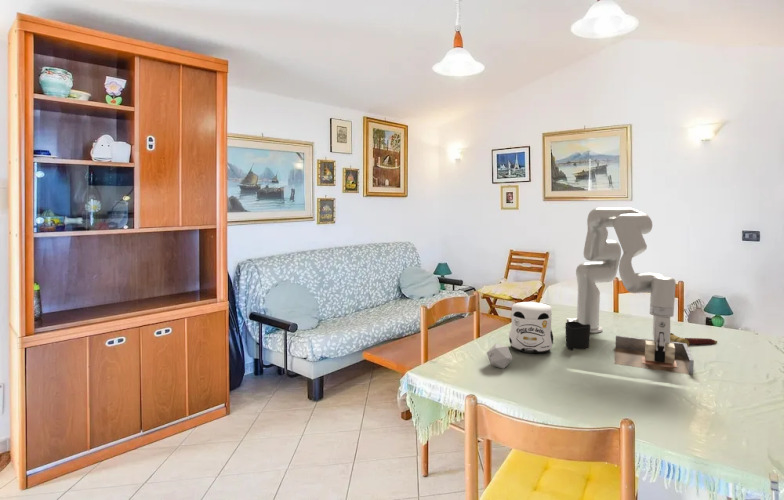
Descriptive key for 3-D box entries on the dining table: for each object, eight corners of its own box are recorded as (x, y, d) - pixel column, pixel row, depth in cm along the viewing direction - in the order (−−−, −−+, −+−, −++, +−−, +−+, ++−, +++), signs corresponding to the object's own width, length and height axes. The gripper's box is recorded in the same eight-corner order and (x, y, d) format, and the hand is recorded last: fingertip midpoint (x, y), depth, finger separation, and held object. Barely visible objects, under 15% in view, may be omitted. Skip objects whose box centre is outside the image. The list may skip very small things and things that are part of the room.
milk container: (524, 358, 173) (525, 313, 171) (501, 344, 190) (501, 303, 188) (562, 353, 178) (563, 309, 176) (536, 340, 195) (537, 300, 193)
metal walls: (614, 363, 164) (615, 350, 163) (615, 347, 181) (615, 335, 181) (692, 374, 153) (693, 360, 152) (685, 356, 170) (686, 343, 170)
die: (488, 362, 171) (480, 346, 166) (507, 350, 172) (500, 335, 166) (498, 377, 165) (490, 361, 159) (518, 365, 165) (511, 349, 160)
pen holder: (584, 344, 189) (585, 321, 188) (593, 351, 179) (594, 327, 178) (561, 344, 189) (562, 321, 188) (569, 352, 180) (570, 327, 179)
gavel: (708, 333, 192) (727, 340, 182) (707, 343, 193) (726, 351, 183) (662, 331, 190) (679, 338, 180) (661, 342, 191) (678, 349, 181)
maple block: (672, 359, 164) (673, 343, 163) (674, 363, 160) (675, 347, 159) (644, 355, 168) (645, 340, 168) (645, 360, 164) (646, 344, 163)
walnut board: (614, 366, 164) (614, 363, 164) (615, 349, 181) (615, 346, 181) (692, 377, 153) (692, 374, 153) (685, 358, 170) (685, 355, 170)
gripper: (676, 317, 153) (673, 368, 155) (671, 306, 168) (668, 353, 170) (651, 315, 156) (648, 365, 158) (648, 304, 171) (646, 350, 173)
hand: (658, 358), depth 164 cm, fingers closed on maple block, 4 cm apart
